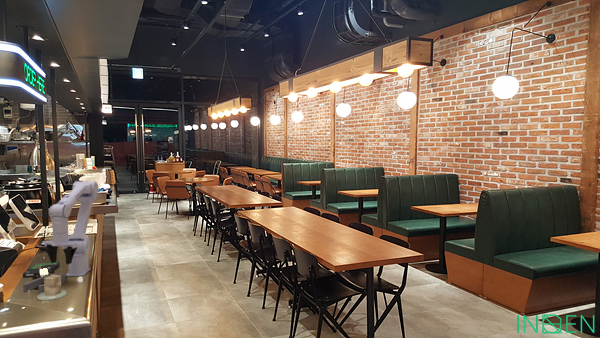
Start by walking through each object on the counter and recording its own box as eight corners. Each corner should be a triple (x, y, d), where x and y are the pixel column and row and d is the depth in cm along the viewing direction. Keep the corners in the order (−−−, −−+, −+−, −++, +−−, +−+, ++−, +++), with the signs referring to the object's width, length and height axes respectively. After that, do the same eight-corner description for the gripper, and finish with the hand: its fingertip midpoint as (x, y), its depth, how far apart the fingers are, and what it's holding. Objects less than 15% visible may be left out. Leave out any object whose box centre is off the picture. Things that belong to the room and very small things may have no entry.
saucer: (44, 291, 160) (44, 290, 160) (70, 290, 162) (70, 288, 162) (32, 301, 150) (31, 299, 150) (60, 300, 152) (59, 298, 152)
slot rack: (50, 279, 173) (50, 273, 173) (67, 281, 172) (66, 274, 171) (23, 291, 160) (23, 284, 160) (41, 293, 158) (40, 286, 158)
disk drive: (48, 277, 178) (59, 267, 192) (48, 271, 177) (59, 261, 192) (22, 279, 175) (36, 268, 189) (22, 273, 175) (35, 262, 189)
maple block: (52, 291, 159) (52, 274, 158) (61, 292, 158) (60, 275, 158) (44, 295, 155) (44, 278, 155) (53, 296, 154) (52, 278, 154)
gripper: (38, 233, 164) (39, 264, 165) (67, 235, 161) (68, 267, 162) (51, 229, 171) (52, 259, 172) (80, 231, 168) (81, 262, 169)
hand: (61, 263), depth 168 cm, fingers open, 7 cm apart
